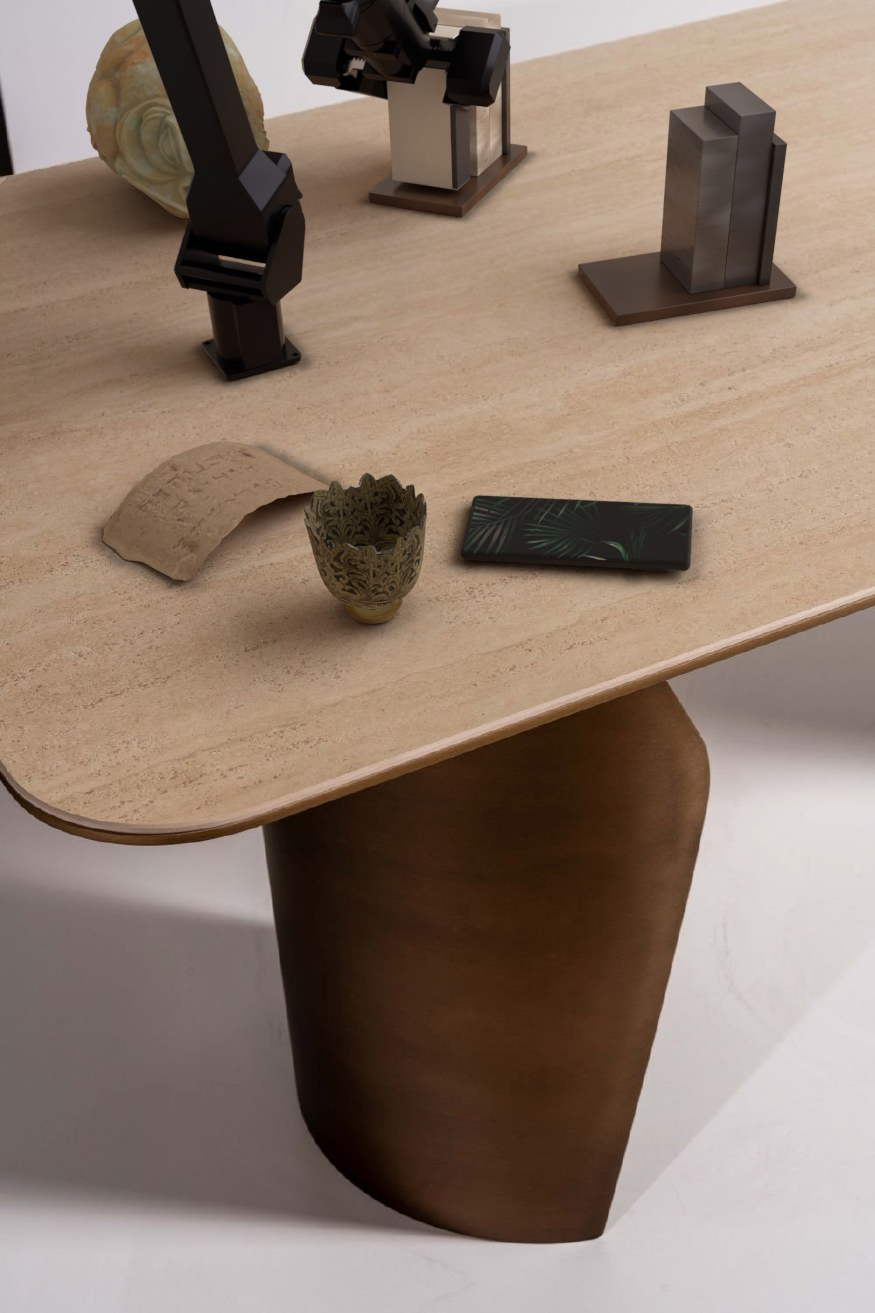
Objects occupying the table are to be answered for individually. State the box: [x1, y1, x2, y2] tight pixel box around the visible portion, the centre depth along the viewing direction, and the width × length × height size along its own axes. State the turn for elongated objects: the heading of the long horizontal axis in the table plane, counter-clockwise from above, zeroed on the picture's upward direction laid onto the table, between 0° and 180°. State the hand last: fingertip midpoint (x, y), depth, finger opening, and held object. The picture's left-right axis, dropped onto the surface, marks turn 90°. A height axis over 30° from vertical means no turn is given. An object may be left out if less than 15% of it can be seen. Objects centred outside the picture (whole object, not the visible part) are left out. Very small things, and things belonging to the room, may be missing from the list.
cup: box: [303, 472, 428, 625], centre depth 88 cm, size 8×7×8 cm
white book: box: [387, 25, 470, 190], centre depth 133 cm, size 3×7×14 cm, turn 64°
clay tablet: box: [102, 440, 330, 581], centre depth 98 cm, size 14×10×3 cm
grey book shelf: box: [577, 81, 798, 327], centre depth 117 cm, size 16×10×16 cm, turn 105°
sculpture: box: [85, 17, 270, 220], centre depth 136 cm, size 18×20×20 cm
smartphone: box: [459, 494, 694, 573], centre depth 95 cm, size 7×1×15 cm
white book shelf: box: [368, 6, 528, 218], centre depth 137 cm, size 16×10×15 cm, turn 154°
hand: (434, 101), depth 134 cm, fingers closed on white book, 7 cm apart
